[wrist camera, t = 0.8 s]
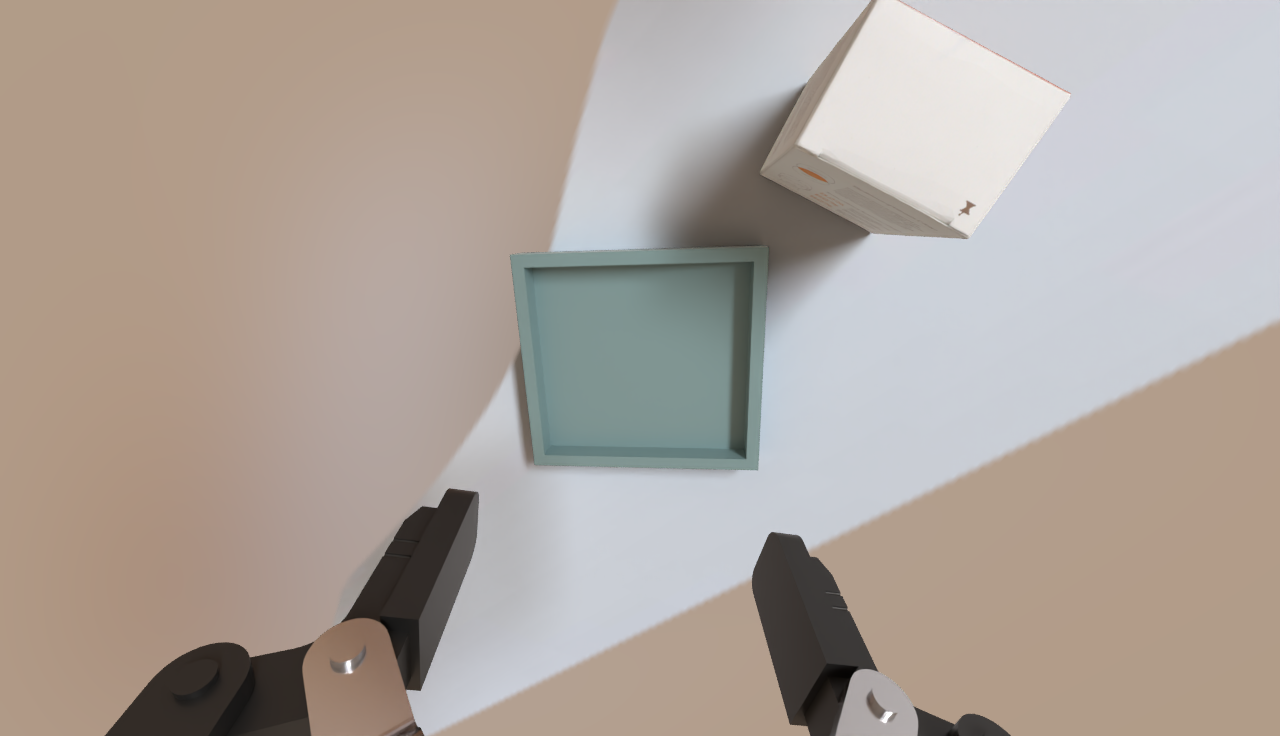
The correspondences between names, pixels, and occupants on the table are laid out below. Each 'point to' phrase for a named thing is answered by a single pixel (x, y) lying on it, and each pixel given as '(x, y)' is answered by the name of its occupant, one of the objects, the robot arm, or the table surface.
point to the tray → (644, 355)
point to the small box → (911, 126)
